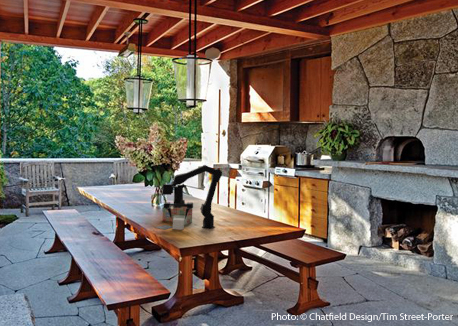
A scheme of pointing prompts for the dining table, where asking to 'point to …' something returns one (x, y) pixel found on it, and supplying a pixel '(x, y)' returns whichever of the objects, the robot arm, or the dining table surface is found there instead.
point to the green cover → (181, 217)
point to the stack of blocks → (177, 211)
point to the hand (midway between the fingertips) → (178, 218)
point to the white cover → (178, 223)
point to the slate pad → (164, 227)
